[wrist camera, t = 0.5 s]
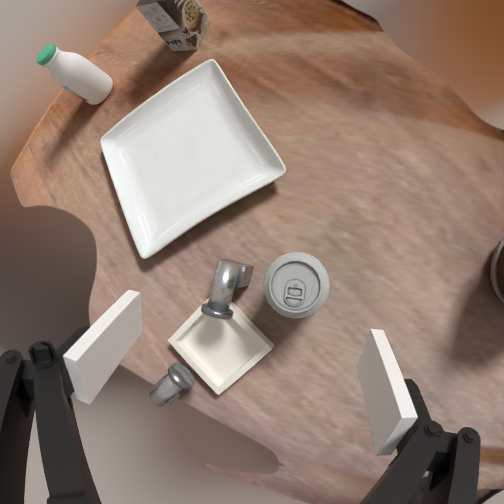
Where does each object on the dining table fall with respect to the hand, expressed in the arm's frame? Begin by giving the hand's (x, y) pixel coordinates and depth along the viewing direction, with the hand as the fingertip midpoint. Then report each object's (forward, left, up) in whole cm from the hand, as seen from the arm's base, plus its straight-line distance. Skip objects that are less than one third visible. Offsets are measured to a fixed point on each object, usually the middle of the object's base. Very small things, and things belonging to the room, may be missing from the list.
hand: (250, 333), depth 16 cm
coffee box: (+51, -22, -29) cm, 63 cm away
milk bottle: (+61, 0, -29) cm, 67 cm away
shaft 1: (+3, +24, -29) cm, 38 cm away
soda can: (+1, -1, -29) cm, 29 cm away
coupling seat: (+3, +15, -29) cm, 33 cm away
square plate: (+30, -2, -30) cm, 42 cm away
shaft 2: (+7, +6, -29) cm, 31 cm away
